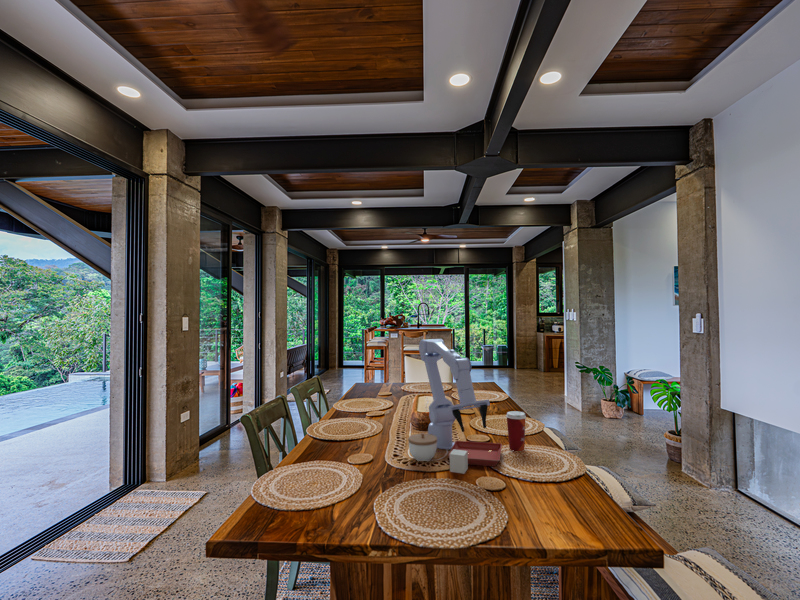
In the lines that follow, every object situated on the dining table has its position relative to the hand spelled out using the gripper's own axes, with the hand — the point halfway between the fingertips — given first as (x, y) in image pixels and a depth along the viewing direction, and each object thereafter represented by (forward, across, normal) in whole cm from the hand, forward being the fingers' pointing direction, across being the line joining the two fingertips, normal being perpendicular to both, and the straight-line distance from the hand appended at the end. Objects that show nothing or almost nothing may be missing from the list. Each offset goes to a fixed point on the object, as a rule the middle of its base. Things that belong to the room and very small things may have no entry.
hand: (474, 429), depth 139 cm
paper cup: (+9, +17, +22) cm, 29 cm away
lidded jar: (+7, -19, +12) cm, 24 cm away
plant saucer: (+10, 0, +14) cm, 17 cm away
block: (+12, -8, +2) cm, 14 cm away
